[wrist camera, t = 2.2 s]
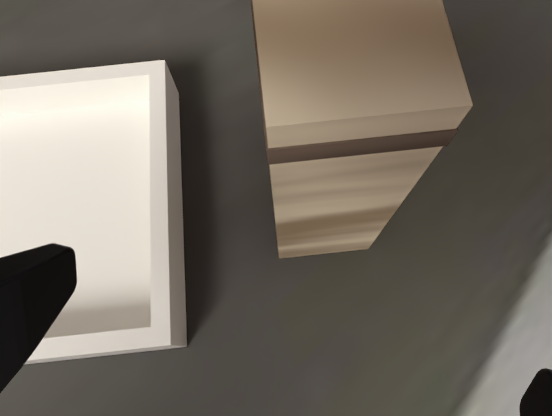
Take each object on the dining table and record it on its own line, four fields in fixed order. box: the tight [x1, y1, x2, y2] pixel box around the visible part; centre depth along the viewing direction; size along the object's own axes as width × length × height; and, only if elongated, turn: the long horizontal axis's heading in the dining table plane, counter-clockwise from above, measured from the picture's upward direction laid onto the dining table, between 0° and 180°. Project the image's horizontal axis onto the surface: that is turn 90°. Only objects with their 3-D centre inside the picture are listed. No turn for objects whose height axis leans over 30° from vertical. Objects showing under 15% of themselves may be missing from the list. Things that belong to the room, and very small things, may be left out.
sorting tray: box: [0, 60, 187, 364], centre depth 21 cm, size 14×14×3 cm
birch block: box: [251, 0, 473, 258], centre depth 16 cm, size 5×5×13 cm
